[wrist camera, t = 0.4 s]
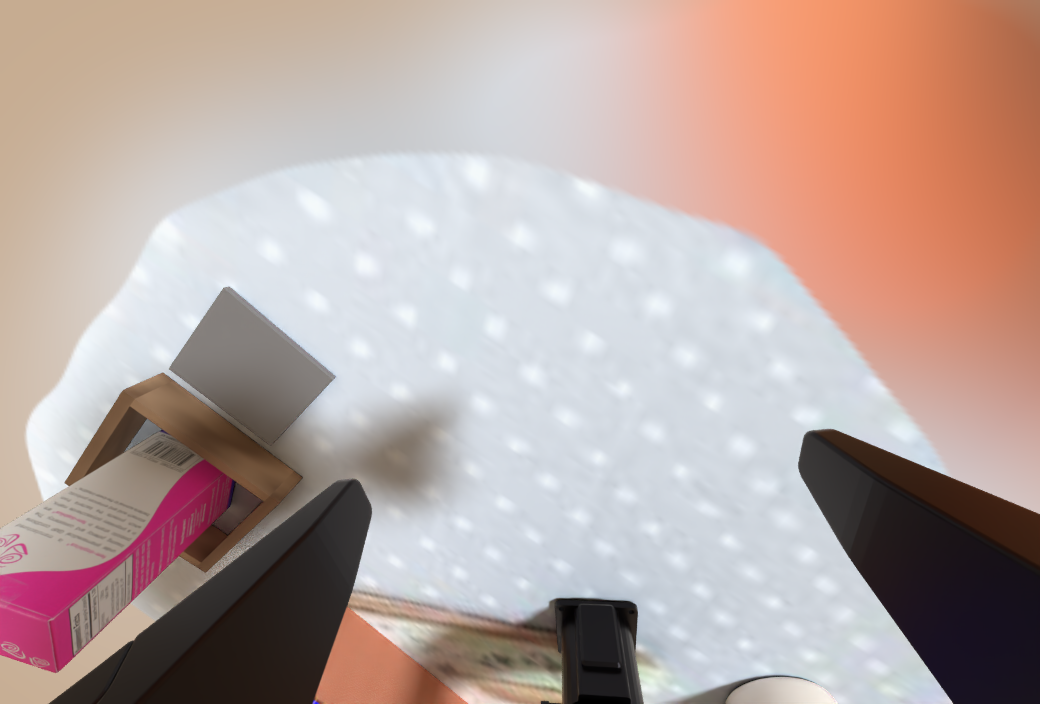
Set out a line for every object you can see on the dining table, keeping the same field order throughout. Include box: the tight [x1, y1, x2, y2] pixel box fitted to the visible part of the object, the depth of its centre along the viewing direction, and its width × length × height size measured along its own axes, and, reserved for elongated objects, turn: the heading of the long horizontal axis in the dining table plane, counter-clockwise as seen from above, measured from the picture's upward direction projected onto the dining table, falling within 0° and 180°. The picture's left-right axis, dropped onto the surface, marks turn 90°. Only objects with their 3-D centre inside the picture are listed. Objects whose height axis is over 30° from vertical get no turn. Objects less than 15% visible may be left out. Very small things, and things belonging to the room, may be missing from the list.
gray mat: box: [169, 287, 336, 445], centre depth 24 cm, size 8×8×1 cm
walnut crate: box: [65, 373, 303, 573], centre depth 27 cm, size 12×12×2 cm
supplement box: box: [0, 429, 235, 673], centre depth 23 cm, size 6×6×12 cm
